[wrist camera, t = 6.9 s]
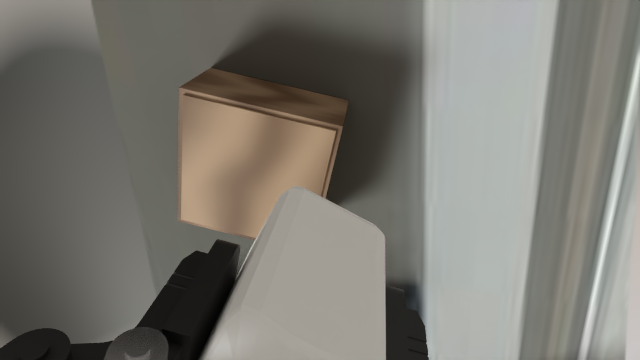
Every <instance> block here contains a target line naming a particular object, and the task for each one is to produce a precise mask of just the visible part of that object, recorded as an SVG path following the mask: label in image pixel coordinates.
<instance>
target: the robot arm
mask: <svg viewBox="0 0 640 360" xmlns="http://www.w3.org/2000/svg"><path fill="white" fill-rule="evenodd" d="M239 254H240V245H238V244H234V243H230V242H227V241H223V240H219V239H217V240H216V242H215V243H214V245H213V246H212V248H211V250H210V251H209V253H208V254H207V253H204V252H200V251H195V252H193V253H192V254H190V255H189V256H187V257H186V258H184V259H183V260H182V261H181V263H180V264H179V266H178V267H177V269H176V270H175V271H174V274H172V276H171V277H170V279H169V280H168V282H167V284H166V285H165V286H164V287H163V289H162V290H161V292H160V293H159V295H158V296H157V298H156V299H155V301H154V302H153V303H152V305H151V306H150V308H149V309H148V311H147V312H146V314H145V315H144V317H143V318H142V319H141V321H140V322H139V324H138V325H137V326H136V327H135V328H134V329H131V330H128V331H126V332H124V333H122V334H120V335H119V336H118V337H117V338H115V339H114V340H113V341H109V342H104V343H86V344H85V343H84V344H70V340H69V338H68V337H67V335H66V334H65V333H63V332H62V331H59V330H56V329H51V328H43V329H36V330H33V331H29V332H27V333H24V334H22V335H20V336H18V337H16V338H15V339H13V340H12V341H10V342H9V343H7V344H6V345H4V346H3V347H2V348H0V360H198V358H199V356H200V354H201V352H202V350H203V348H204V346H205V344H206V342H207V339H208V337H209V335H210V333H211V331H212V329H213V327H214V325H215V323H216V320H217V318H218V316H219V314H220V312H221V310H222V308H223V306H224V303H225V301H226V299H227V297H228V295H229V293H230V291H231V289H232V287H233V284H234V282H235V279H236V273H237V266H238V260H239ZM385 306H386V360H429V358H428V349H427V344H426V342H427V341H426V332H425V326H424V324H423V322H422V320H421V318H420V316H419V314H418V312H417V311H415V310H411V309H408V308H406V307H405V293H404V290H402V289H398V288H394V287H391V286H387V285H385Z"/></svg>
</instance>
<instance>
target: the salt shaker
mask: <svg viewBox="0 0 640 360" xmlns="http://www.w3.org/2000/svg"><path fill="white" fill-rule="evenodd" d="M198 360H386V306H385V236H384V235H383V233H382V232H381V231H380V230H379V229H378V228H377V227H376V226H375V225H374V224H373V223H371V222H369V221H367V220H365V219H363V218H361V217H359V216H357V215H355V214H354V213H352V212H350V211H348V210H346V209H344V208H342V207H340V206H338V205H336V204H334V203H333V202H331V201H329V200H327V199H325V198H323V197H321V196H319V195H317V194H315V193H313V192H312V191H310V190H308V189H306V188H304V187H298V186H293V187H291V188H290V189H288V190H287V191H285V192H284V193H282V194H281V195H280V197H279V199H278V200H277V202H276V204H275V206H274V207H273V209H272V211H271V213H270V215H269V216H268V218H267V220H266V222H265V224H264V225H263V227H262V229H261V231H260V232H259V234H258V236H257V238H256V240H255V241H254V243H253V245H252V247H251V249H250V250H249V253H248V255H247V257H246V259H245V261H244V263H243V265H242V267H241V269H240V272H239V274H238V276H237V278H236V280H235V282H234V284H233V287H232V289H231V291H230V293H229V295H228V297H227V299H226V301H225V303H224V306H223V308H222V310H221V312H220V314H219V316H218V318H217V320H216V323H215V325H214V327H213V329H212V331H211V333H210V335H209V337H208V339H207V342H206V344H205V346H204V348H203V350H202V352H201V354H200V356H199V358H198Z"/></svg>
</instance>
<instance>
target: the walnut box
mask: <svg viewBox="0 0 640 360" xmlns="http://www.w3.org/2000/svg"><path fill="white" fill-rule="evenodd" d="M348 102H349V100H345V99H341V98H336V97H332V96H328V95H324V94H319V93H315V92H311V91H307V90H303V89H298V88H294V87H290V86H286V85H281V84H277V83H273V82H269V81H264V80H260V79H256V78H252V77H247V76H243V75H239V74H235V73H230V72H226V71H222V70H218V69H213V68H210V69H208V70H206V71H205V72H203V73H202V74H200V75H198V76H197V77H195V78H194V79H192V80H190V81H189V82H187V83H186V84H184V85H182V86H181V87H179V131H178V216H177V221H180V222H184V223H188V224H192V225H196V226H200V227H204V228H209V229H213V230H217V231H221V232H225V233H229V234H233V235H237V236H241V237H245V238H249V239H254V240H256V238H257V236H258V234H259V232H260V231H261V229H262V227H263V225H264V224H265V222H266V220H267V218H268V216H269V215H270V213H271V211H272V209H273V207H274V206H275V204H276V202H277V200H278V199H279V197H280V195H281V194H282V193H284V192H285V191H287V190H288V189H290V188H291V187H293V186H298V187H304V188H306V189H308V190H310V191H312V192H313V193H315V194H317V195H319V196H321V197H323V198H326V194H327V190H328V186H329V182H330V178H331V174H332V170H333V166H334V161H335V157H336V153H337V149H338V145H339V141H340V137H341V133H342V129H343V124H344V120H345V116H346V111H347V107H348Z"/></svg>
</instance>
